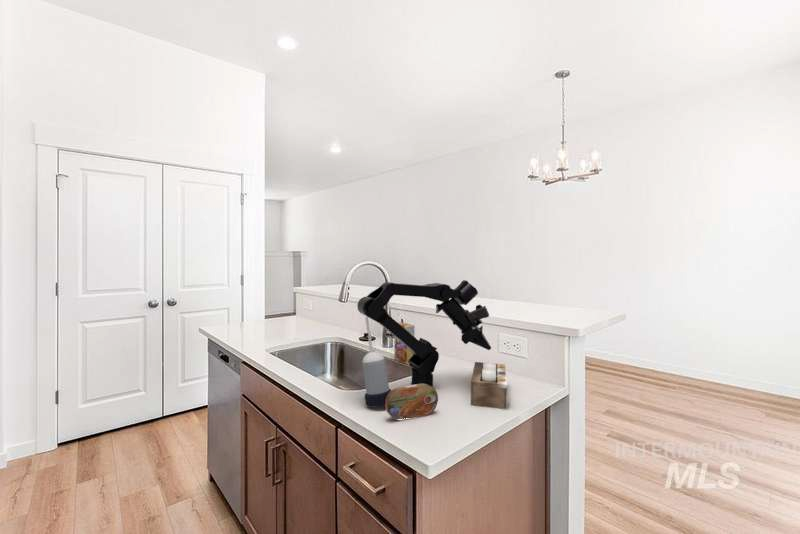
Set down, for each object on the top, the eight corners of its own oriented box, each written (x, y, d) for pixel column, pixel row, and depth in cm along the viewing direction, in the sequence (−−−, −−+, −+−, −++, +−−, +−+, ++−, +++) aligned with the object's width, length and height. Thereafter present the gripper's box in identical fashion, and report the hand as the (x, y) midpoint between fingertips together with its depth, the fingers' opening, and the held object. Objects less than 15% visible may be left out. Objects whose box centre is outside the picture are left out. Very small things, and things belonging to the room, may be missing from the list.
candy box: (393, 359, 156) (393, 322, 155) (401, 357, 159) (402, 321, 158) (406, 364, 149) (406, 326, 148) (414, 362, 151) (415, 325, 151)
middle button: (482, 380, 117) (482, 365, 117) (483, 375, 121) (483, 362, 121) (495, 381, 116) (496, 366, 116) (495, 377, 120) (496, 363, 120)
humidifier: (379, 397, 115) (367, 316, 118) (399, 399, 110) (386, 313, 112) (359, 405, 109) (347, 320, 112) (379, 408, 104) (366, 317, 106)
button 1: (481, 387, 111) (481, 372, 110) (482, 382, 114) (482, 368, 114) (495, 388, 110) (495, 373, 109) (495, 384, 113) (496, 369, 113)
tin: (388, 423, 98) (388, 391, 98) (383, 418, 101) (383, 387, 101) (438, 413, 104) (438, 383, 104) (433, 409, 107) (433, 380, 107)
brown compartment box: (470, 405, 110) (471, 380, 110) (474, 382, 129) (475, 361, 129) (506, 408, 108) (506, 384, 107) (504, 384, 127) (505, 363, 127)
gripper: (473, 301, 116) (509, 339, 114) (476, 294, 134) (507, 327, 132) (447, 325, 118) (482, 362, 116) (453, 315, 136) (484, 348, 134)
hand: (490, 348), depth 124 cm, fingers closed
